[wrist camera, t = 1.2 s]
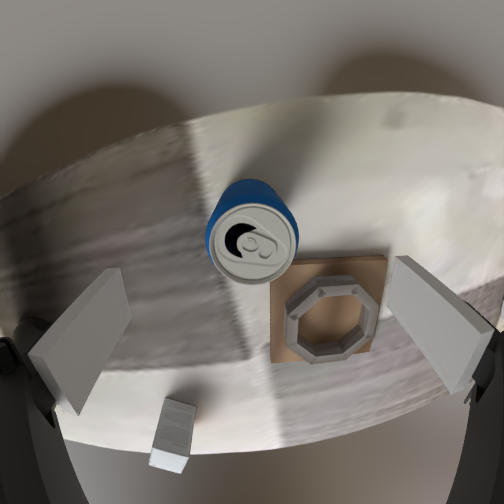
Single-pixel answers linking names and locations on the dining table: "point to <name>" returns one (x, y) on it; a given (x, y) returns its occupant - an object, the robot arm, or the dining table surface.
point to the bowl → (502, 311)
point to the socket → (325, 308)
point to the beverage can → (251, 234)
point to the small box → (173, 436)
